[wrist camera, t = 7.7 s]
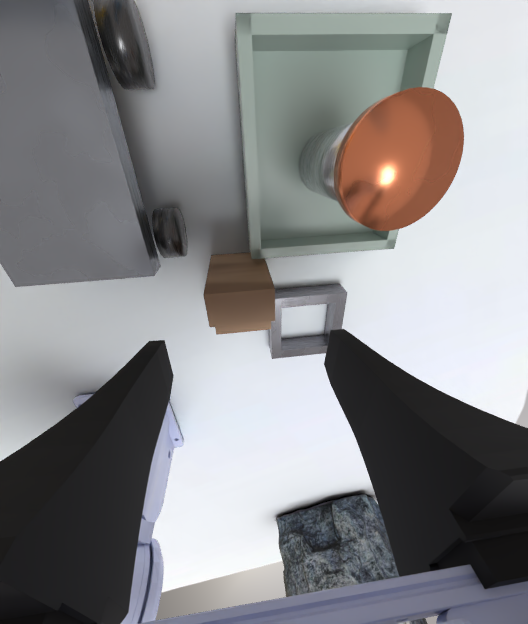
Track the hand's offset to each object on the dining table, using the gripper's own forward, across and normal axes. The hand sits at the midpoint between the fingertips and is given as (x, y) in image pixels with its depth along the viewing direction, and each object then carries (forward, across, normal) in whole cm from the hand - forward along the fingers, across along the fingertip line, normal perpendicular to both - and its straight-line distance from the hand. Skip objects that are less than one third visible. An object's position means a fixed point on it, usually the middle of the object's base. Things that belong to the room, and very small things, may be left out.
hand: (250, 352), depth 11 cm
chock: (+9, 0, 0) cm, 9 cm away
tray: (+9, -5, -7) cm, 12 cm away
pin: (+8, -5, -7) cm, 12 cm away
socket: (+9, -5, +4) cm, 11 cm away
